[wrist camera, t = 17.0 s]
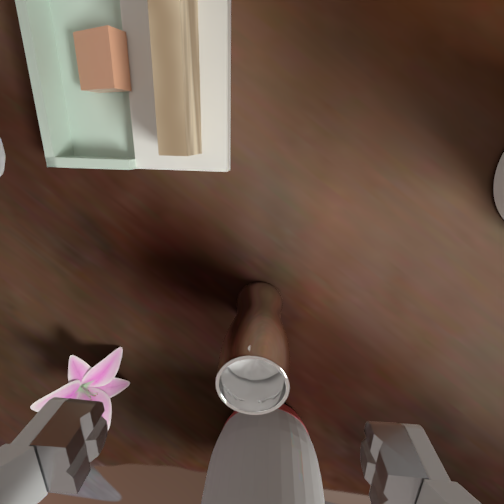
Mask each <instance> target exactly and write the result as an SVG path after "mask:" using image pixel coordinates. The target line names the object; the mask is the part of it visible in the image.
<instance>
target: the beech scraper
mask: <svg viewBox="0 0 504 504" xmlns="http://www.w3.org/2000/svg"><path fill="white" fill-rule="evenodd" d="M147 2H148V16H149V30H150V43H151V57H152V71H153V85H154V98H155V112H156V126H157V139H158V153H159V155H164V156H191V155H196V154H202V140H201V103H200V66H199V29H198V0H147Z"/></svg>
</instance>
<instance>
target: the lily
mask: <svg viewBox="0 0 504 504" xmlns="http://www.w3.org/2000/svg"><path fill="white" fill-rule="evenodd" d="M122 353H123V349H122V347H119V348H117V349H116V350H114V351H113V352H112V353H111V354H109V355H108V356H107V357H106V358H104V359H103V360H102V361H100V362H99V363H98V364H96V365H95V366H94V367H92V368H91V366H89V365H88V364H87V363H86V362H84V361H83V360H82V359H80V358H78V357H76V356H74V355H70V357H69V364H68V384H66V385H64V386H63V387H61V388H59V389H57V390H56V391H54V392H52V393H50V394H48V395H46V396H45V397H43V398H41V399H39V400H38V401H36V402H35V403H33V404H32V405H31V406H30V408H31V409H32V410H34V411H36V412H39V411H40V410H41V408H42V407H43V406H44V405H45V404H46V403H47V402H48V401H49V400H50V399H52V398H54V397H59V398H72V399H81V400H91V401H100V402H103V405H104V409H105V411H104V413H103V414H102V417H103V418H104V419H105V420H106V421H107V426H108V429H109V427H110V423H111V413H112V405H111V400H110V398H111V397H113V396H115V395H117V394H118V393H120V392H121V391H123V390H124V389H126V388H127V387H128V386H129V385H130V382H129V381H127V380H124V379H120V378H115V376H116V374H117V372H118V369H119V366H120V362H121V358H122Z"/></svg>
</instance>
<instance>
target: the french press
mask: <svg viewBox="0 0 504 504" xmlns="http://www.w3.org/2000/svg"><path fill="white" fill-rule="evenodd" d="M5 157H6V156H5V152H4V148H3V144H2V140H1V138H0V176H1V175H2V173H3V172H4V165H5Z"/></svg>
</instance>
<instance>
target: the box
mask: <svg viewBox="0 0 504 504" xmlns="http://www.w3.org/2000/svg"><path fill="white" fill-rule="evenodd" d="M15 4H16V9H17V14H18V19H19V24H20V29H21V35H22V40H23V45H24V50H25V55H26V60H27V65H28V71H29V76H30V81H31V86H32V91H33V96H34V102H35V107H36V112H37V117H38V122H39V127H40V132H41V138H42V143H43V148H44V153H45V158H46V163H47V167H64V168H92V169H120V170H132V169H136V162H135V152H134V142H133V132H132V121H131V111H130V101H129V91H127V92H109V93H95V92H89V91H82V90H81V86H80V79H79V72H78V65H77V58H76V51H75V44H74V37H73V32H76V31H81V30H86V29H91V28H96V27H101V26H106V25H109V26H111V27H114V28H117V29H119V30H122V20H121V9H120V0H15ZM122 31H123V30H122Z"/></svg>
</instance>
